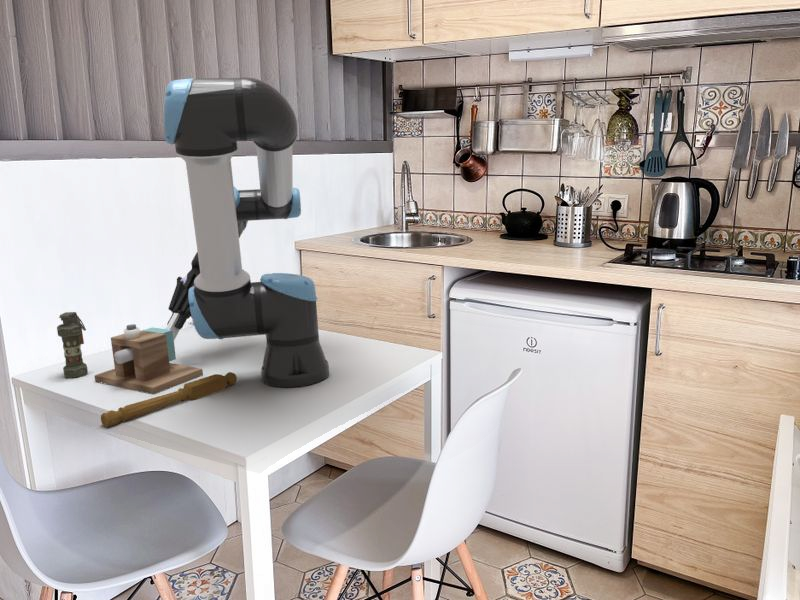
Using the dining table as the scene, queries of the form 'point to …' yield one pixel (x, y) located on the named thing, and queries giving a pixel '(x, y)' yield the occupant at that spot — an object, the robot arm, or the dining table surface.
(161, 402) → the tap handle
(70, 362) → the grenade
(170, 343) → the teal piece
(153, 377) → the mount
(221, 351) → the dining table surface
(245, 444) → the dining table surface
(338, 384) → the dining table surface
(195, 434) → the dining table surface
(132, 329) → the dial
